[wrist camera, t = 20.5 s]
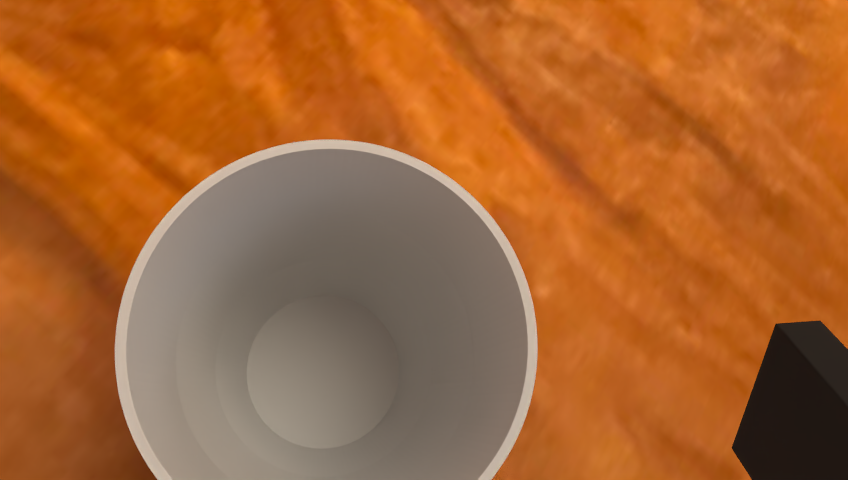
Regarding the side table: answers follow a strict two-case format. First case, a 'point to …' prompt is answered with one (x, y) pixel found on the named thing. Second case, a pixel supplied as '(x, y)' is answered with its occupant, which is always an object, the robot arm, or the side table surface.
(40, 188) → the side table surface
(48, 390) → the side table surface
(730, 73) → the side table surface
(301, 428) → the cup
